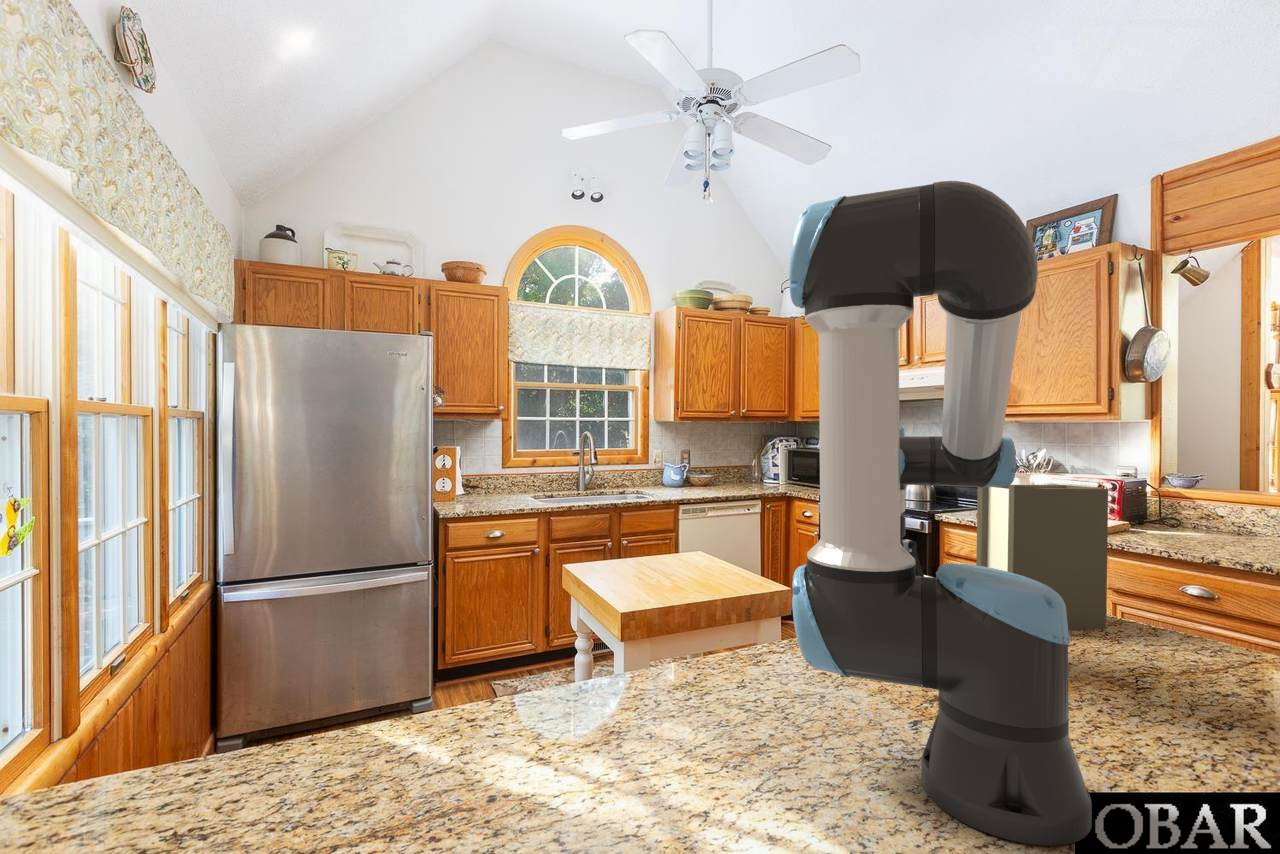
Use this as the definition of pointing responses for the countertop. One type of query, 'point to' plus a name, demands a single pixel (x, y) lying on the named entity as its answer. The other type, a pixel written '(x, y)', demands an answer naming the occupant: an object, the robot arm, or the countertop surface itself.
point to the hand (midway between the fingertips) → (882, 639)
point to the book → (1050, 542)
